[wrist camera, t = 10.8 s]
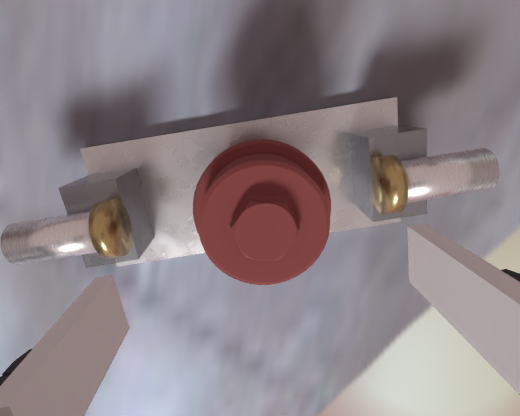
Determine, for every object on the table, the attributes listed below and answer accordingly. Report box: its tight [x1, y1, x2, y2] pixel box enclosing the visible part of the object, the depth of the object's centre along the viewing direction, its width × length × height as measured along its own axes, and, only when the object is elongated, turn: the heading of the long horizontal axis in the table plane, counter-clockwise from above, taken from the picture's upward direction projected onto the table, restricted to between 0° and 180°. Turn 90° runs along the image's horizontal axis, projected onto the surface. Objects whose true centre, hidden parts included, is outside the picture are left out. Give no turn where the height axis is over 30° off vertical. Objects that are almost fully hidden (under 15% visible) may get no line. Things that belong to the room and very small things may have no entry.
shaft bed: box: [1, 97, 499, 268], centre depth 28 cm, size 36×12×10 cm, turn 99°
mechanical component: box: [193, 139, 331, 285], centre depth 25 cm, size 12×10×10 cm
